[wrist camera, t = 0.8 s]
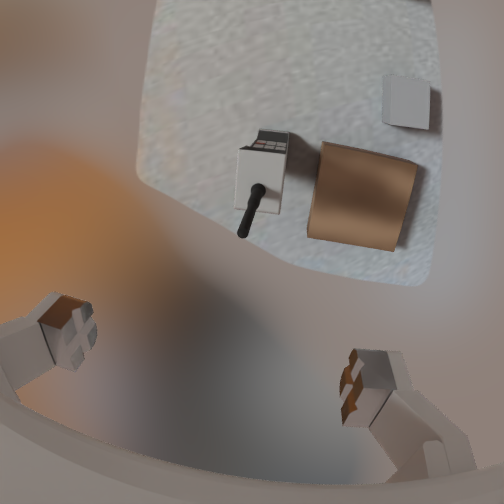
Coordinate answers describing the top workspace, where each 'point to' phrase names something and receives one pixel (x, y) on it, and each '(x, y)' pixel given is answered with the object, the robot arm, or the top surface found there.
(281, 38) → the top surface
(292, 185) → the top surface
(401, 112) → the grey plastic box
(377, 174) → the walnut stand
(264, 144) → the vintage mobile phone
